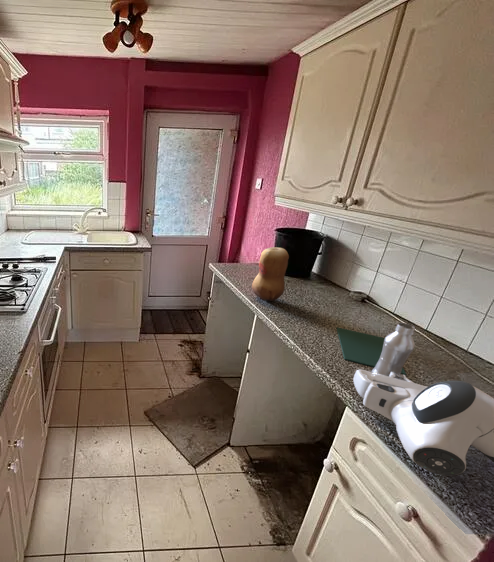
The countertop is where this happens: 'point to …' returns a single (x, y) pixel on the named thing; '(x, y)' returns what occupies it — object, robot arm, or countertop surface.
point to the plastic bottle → (395, 350)
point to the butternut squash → (271, 274)
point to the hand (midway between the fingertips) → (396, 375)
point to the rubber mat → (361, 347)
